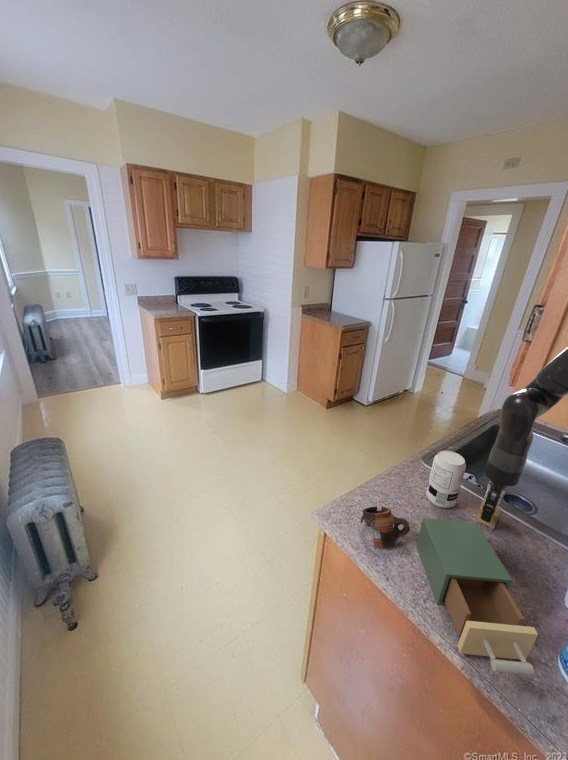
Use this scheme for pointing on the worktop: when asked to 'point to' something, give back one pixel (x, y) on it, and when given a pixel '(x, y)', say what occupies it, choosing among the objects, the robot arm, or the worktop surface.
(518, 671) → the drawer
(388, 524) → the pottery mug
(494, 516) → the block
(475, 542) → the cabinet
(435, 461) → the supplement can
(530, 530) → the worktop surface
